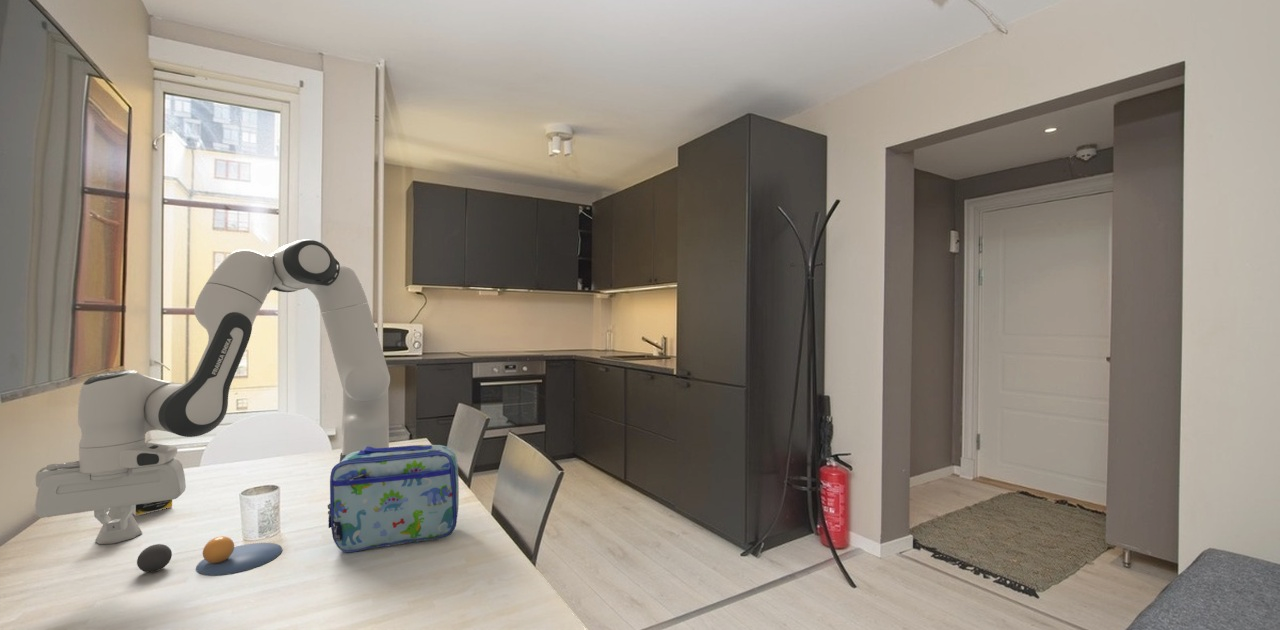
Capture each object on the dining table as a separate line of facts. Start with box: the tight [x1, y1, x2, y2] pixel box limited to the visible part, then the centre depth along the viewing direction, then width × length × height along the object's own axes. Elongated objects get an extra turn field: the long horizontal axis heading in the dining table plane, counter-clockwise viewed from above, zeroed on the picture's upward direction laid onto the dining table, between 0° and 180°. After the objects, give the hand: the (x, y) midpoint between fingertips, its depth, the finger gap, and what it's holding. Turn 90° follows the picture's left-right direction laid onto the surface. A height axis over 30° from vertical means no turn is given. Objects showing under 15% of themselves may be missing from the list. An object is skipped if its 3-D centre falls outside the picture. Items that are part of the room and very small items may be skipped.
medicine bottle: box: [132, 500, 173, 517], centre depth 134 cm, size 7×7×12 cm
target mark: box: [195, 542, 283, 576], centre depth 107 cm, size 14×14×1 cm
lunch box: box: [327, 444, 460, 553], centre depth 116 cm, size 26×11×21 cm, turn 107°
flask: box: [95, 507, 143, 545], centre depth 117 cm, size 7×7×10 cm
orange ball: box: [202, 535, 235, 563], centre depth 105 cm, size 5×5×5 cm
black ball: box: [136, 543, 173, 573], centre depth 102 cm, size 5×5×5 cm
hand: (115, 530), depth 98 cm, fingers closed
